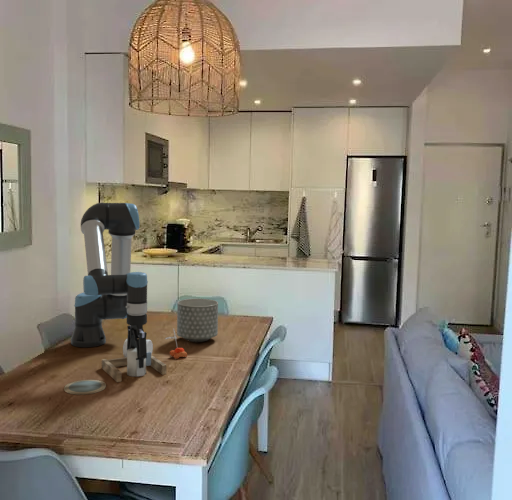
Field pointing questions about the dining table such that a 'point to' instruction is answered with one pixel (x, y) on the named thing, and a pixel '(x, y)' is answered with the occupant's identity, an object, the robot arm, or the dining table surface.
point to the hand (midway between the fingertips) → (136, 372)
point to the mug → (148, 346)
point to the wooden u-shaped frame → (111, 364)
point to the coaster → (84, 387)
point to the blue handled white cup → (132, 361)
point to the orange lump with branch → (177, 350)
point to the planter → (197, 319)
